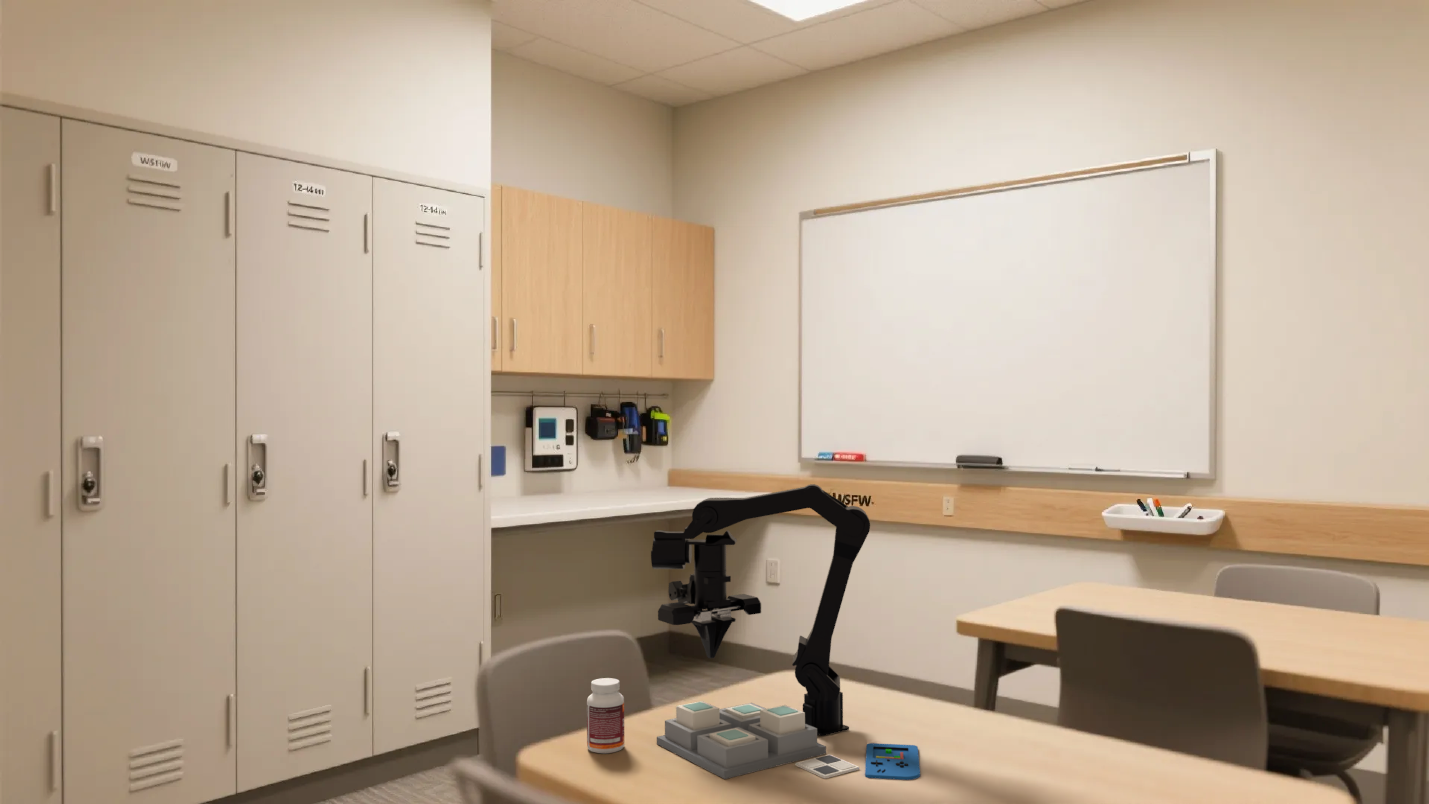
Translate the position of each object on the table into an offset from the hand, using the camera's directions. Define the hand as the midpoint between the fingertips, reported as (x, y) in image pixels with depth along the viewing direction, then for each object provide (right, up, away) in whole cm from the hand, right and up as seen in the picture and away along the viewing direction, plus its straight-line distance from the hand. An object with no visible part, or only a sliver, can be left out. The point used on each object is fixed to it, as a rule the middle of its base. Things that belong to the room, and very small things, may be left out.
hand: (710, 657), depth 178 cm
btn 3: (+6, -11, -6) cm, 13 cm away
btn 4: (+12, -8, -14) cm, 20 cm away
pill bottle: (-17, -12, -12) cm, 24 cm away
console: (+5, -12, -13) cm, 18 cm away
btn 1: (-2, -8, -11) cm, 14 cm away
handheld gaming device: (+29, -12, -19) cm, 37 cm away
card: (+18, -12, -22) cm, 31 cm away
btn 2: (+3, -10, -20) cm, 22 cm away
